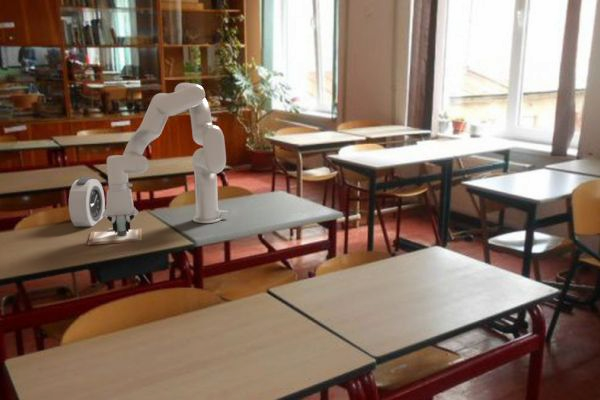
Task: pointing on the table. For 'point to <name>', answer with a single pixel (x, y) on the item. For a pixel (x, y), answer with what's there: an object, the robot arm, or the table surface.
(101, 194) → the alarm clock
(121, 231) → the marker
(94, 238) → the clipboard
